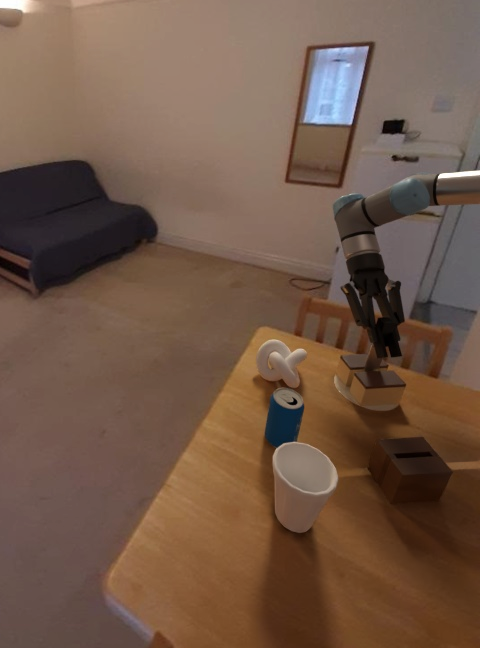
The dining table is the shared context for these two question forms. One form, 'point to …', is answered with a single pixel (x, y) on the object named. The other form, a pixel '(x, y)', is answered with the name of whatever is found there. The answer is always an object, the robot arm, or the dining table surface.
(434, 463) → the knife block
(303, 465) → the cup
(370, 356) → the knife
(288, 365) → the white knot sculpture
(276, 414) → the beverage can
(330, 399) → the dining table surface
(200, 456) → the dining table surface
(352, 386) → the cake
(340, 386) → the plate
